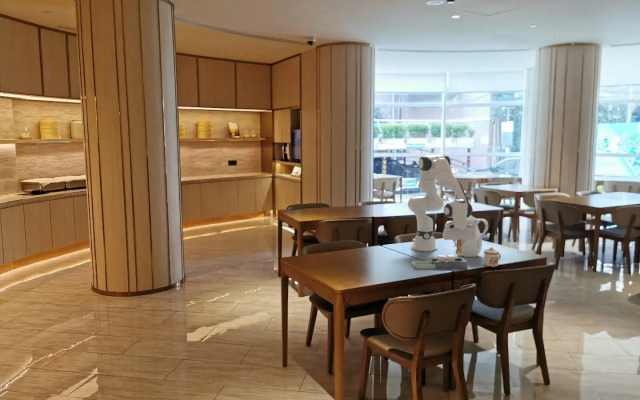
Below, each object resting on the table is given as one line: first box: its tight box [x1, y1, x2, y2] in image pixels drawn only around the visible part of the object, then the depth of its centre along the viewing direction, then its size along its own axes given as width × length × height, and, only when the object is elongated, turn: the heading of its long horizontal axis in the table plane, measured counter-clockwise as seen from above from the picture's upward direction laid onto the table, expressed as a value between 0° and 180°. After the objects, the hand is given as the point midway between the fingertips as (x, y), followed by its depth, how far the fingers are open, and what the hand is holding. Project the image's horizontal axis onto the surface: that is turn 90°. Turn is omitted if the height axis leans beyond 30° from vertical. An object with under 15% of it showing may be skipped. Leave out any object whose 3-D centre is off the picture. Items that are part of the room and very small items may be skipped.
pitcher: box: [460, 214, 489, 258], centre depth 344 cm, size 24×17×28 cm
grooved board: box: [431, 256, 468, 270], centre depth 320 cm, size 10×20×4 cm, turn 91°
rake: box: [455, 240, 462, 256], centre depth 318 cm, size 5×3×10 cm, turn 1°
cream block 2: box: [446, 254, 456, 261], centre depth 320 cm, size 4×4×4 cm
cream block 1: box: [437, 254, 447, 261], centre depth 319 cm, size 4×4×4 cm
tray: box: [411, 260, 436, 270], centre depth 320 cm, size 10×13×2 cm
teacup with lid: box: [483, 246, 501, 268], centre depth 323 cm, size 12×9×12 cm
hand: (459, 246), depth 318 cm, fingers closed on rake, 2 cm apart
